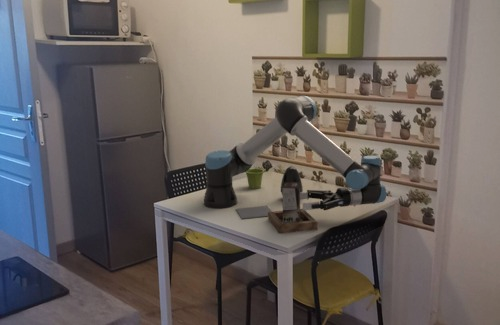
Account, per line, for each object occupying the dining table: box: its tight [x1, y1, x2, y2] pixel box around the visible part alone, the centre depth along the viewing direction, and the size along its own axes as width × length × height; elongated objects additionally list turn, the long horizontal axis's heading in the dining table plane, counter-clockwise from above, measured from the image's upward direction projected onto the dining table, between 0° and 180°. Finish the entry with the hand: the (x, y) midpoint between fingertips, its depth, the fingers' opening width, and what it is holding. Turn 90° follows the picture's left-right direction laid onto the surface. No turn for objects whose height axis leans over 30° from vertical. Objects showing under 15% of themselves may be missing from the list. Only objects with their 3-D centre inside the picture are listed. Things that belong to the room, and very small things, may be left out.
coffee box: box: [282, 182, 301, 224], centre depth 195 cm, size 9×6×16 cm
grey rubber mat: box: [235, 205, 273, 220], centre depth 211 cm, size 14×13×1 cm
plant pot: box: [245, 168, 265, 190], centre depth 250 cm, size 9×9×9 cm
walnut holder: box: [267, 208, 318, 234], centre depth 196 cm, size 15×17×3 cm
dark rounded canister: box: [280, 165, 304, 197], centre depth 228 cm, size 10×10×15 cm
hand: (297, 201), depth 194 cm, fingers open, 13 cm apart
